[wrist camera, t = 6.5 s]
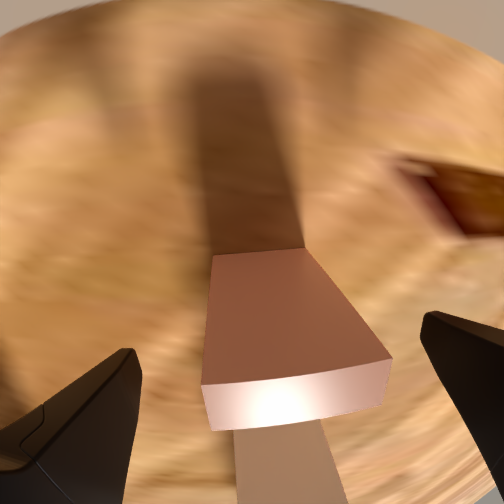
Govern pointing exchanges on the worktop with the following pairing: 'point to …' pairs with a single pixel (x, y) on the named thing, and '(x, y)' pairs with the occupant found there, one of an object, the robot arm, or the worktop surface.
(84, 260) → the worktop surface
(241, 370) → the pink rectangular block
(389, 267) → the worktop surface
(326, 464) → the ivory tile
